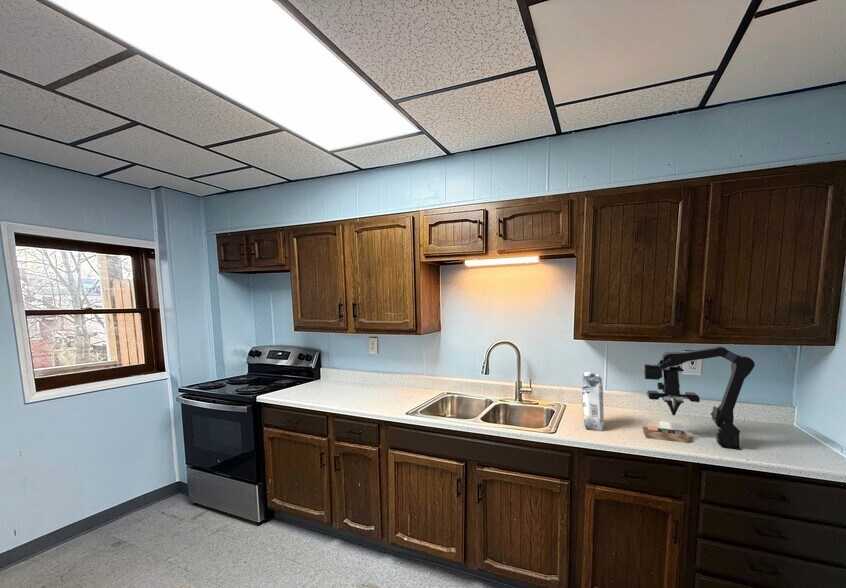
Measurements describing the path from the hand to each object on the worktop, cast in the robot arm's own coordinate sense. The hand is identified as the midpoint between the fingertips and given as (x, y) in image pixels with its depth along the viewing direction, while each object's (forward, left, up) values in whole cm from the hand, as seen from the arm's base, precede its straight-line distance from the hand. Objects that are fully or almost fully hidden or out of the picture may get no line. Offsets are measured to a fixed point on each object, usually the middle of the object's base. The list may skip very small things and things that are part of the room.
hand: (673, 415), depth 159 cm
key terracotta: (+8, 0, -10) cm, 13 cm away
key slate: (-1, 0, -9) cm, 9 cm away
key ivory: (+3, 0, -9) cm, 9 cm away
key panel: (+3, 0, -11) cm, 11 cm away
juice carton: (+33, -3, -11) cm, 35 cm away
